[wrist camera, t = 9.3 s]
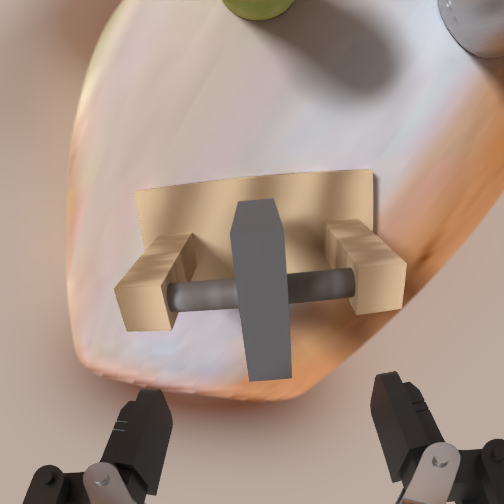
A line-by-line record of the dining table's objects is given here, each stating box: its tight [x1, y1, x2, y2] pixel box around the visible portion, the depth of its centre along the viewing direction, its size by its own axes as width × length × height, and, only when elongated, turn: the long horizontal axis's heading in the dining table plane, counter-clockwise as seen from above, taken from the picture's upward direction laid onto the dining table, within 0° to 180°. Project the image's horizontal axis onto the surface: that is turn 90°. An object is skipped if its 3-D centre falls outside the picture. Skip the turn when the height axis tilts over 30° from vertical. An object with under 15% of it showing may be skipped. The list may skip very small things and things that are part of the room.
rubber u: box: [230, 198, 292, 382], centre depth 20 cm, size 2×9×8 cm, turn 5°
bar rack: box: [114, 169, 407, 331], centre depth 23 cm, size 20×11×11 cm, turn 95°
